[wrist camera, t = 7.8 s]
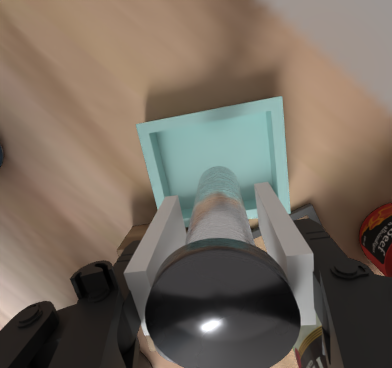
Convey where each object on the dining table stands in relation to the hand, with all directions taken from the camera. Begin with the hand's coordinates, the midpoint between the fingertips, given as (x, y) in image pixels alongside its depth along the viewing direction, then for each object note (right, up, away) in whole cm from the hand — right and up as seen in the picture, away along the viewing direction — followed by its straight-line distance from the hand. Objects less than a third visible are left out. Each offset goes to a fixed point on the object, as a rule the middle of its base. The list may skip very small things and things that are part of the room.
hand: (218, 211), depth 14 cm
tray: (+1, +4, +12) cm, 12 cm away
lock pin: (0, +1, +4) cm, 5 cm away
